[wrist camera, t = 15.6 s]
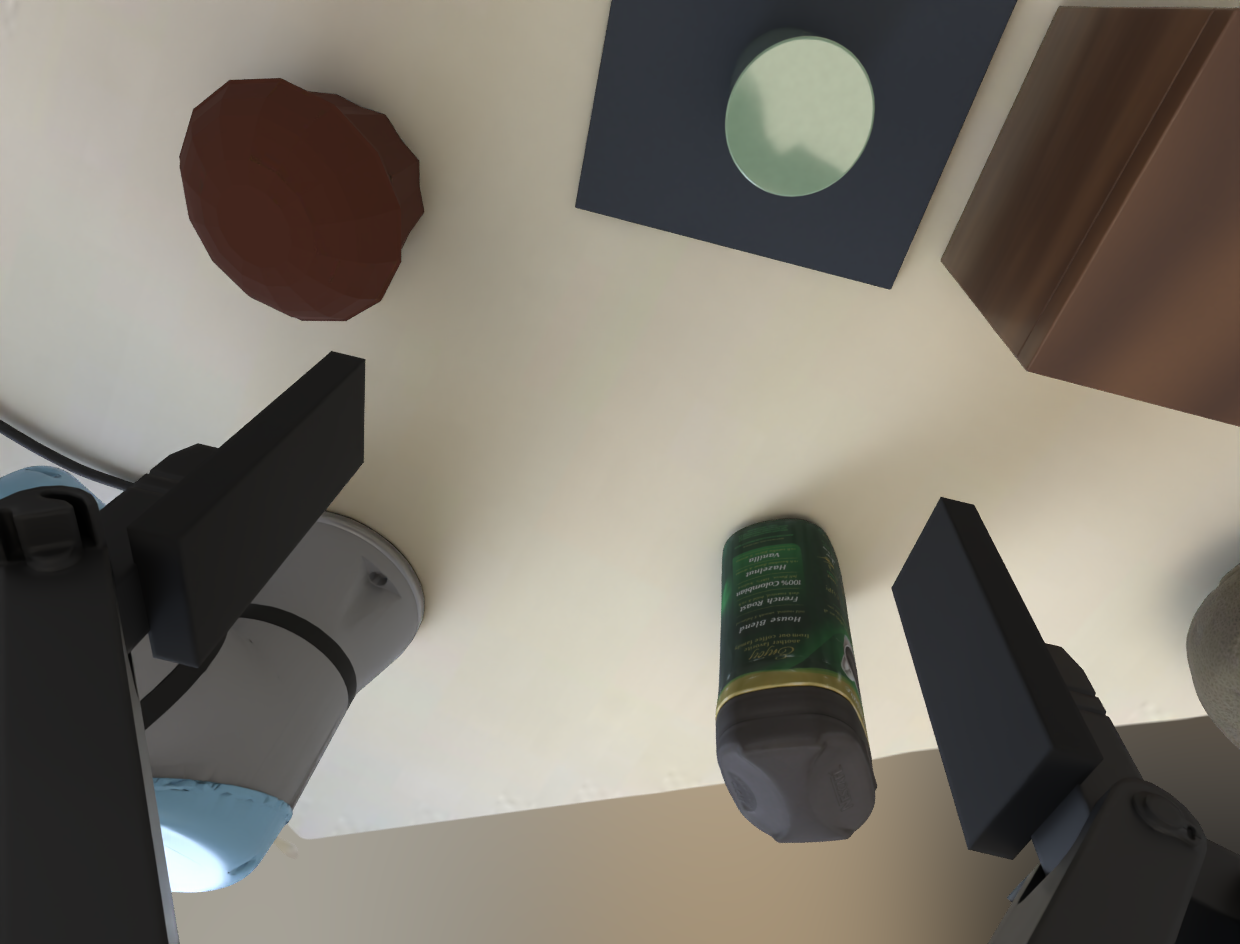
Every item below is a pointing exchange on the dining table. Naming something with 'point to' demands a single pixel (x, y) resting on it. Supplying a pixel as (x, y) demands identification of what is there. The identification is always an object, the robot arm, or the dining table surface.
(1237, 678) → the dimpled grey orange
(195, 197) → the muffin
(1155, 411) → the dining table surface
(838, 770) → the coffee jar
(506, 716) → the dining table surface
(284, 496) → the robot arm
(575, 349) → the dining table surface
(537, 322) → the dining table surface
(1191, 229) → the wooden side table
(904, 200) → the felt mat
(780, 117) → the canister
